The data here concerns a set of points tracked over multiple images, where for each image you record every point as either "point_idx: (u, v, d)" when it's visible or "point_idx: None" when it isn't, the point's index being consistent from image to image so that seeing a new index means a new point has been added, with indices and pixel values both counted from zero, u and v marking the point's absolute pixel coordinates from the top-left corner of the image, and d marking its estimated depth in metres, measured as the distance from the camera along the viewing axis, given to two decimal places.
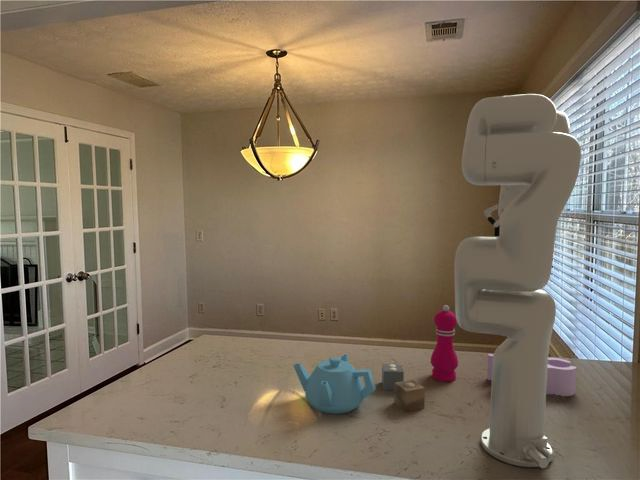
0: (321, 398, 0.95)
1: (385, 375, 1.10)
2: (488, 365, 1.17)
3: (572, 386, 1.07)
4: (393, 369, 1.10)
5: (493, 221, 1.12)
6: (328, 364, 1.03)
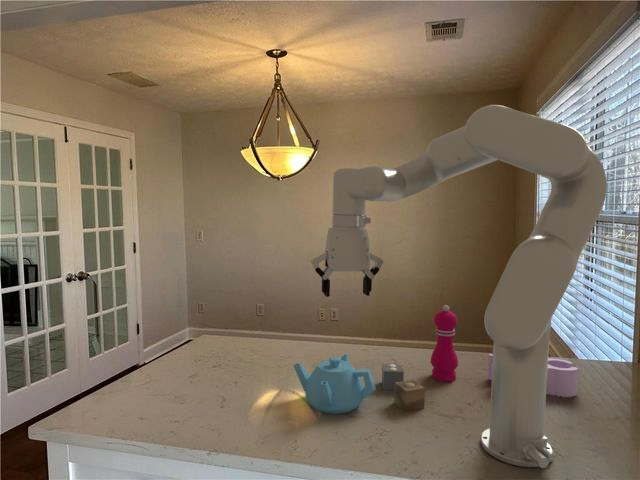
0: (321, 398, 0.95)
1: (385, 375, 1.10)
2: (489, 364, 1.17)
3: (573, 387, 1.07)
4: (393, 369, 1.10)
5: None
6: (328, 364, 1.03)
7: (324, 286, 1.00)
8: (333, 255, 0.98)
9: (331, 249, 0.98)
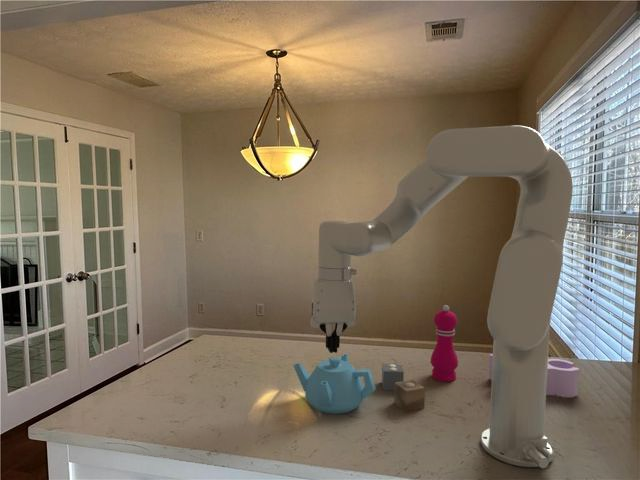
0: (321, 398, 0.95)
1: (385, 375, 1.10)
2: (490, 365, 1.17)
3: (574, 388, 1.06)
4: (393, 369, 1.10)
5: None
6: (328, 364, 1.03)
7: (328, 342, 1.01)
8: (318, 308, 0.98)
9: (317, 301, 0.98)
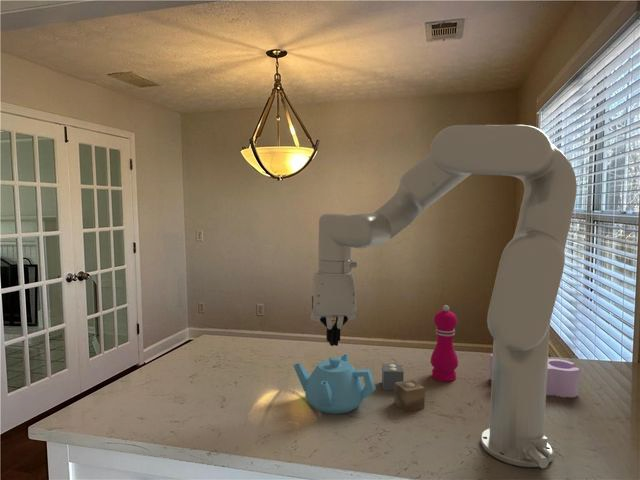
0: (321, 398, 0.95)
1: (385, 375, 1.10)
2: (490, 364, 1.17)
3: (575, 388, 1.06)
4: (393, 369, 1.10)
5: None
6: (328, 364, 1.03)
7: (329, 335, 1.01)
8: (319, 301, 0.98)
9: (317, 294, 0.98)
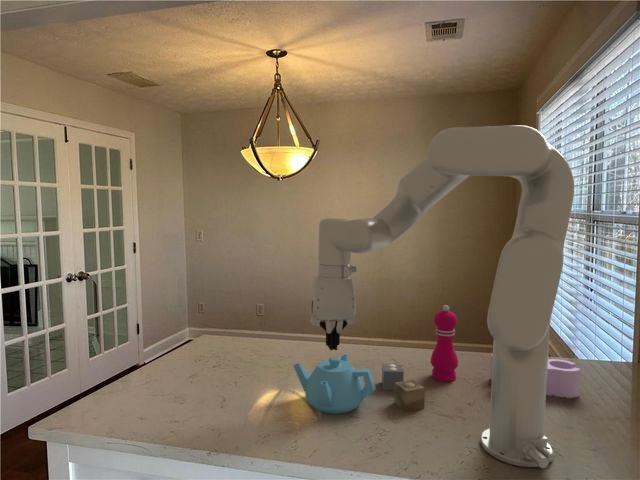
0: (321, 398, 0.95)
1: (385, 375, 1.10)
2: (491, 365, 1.17)
3: (575, 388, 1.06)
4: (393, 369, 1.10)
5: None
6: (328, 363, 1.03)
7: (328, 339, 1.01)
8: (318, 305, 0.98)
9: (317, 299, 0.98)
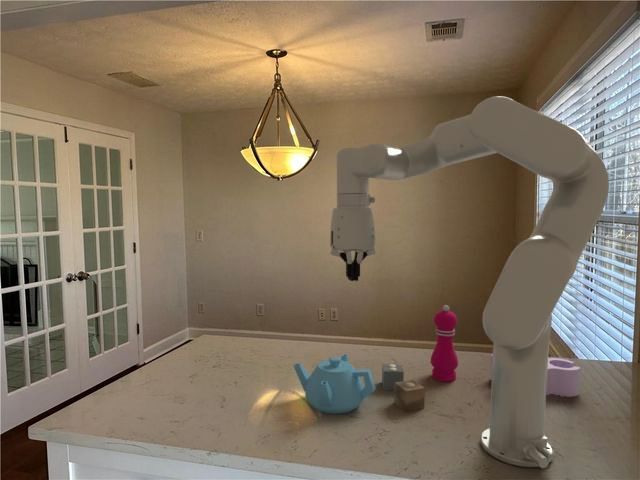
0: (321, 398, 0.95)
1: (385, 375, 1.10)
2: (491, 365, 1.16)
3: (576, 387, 1.07)
4: (393, 369, 1.10)
5: None
6: (328, 364, 1.03)
7: (349, 270, 1.01)
8: (339, 234, 0.99)
9: (337, 228, 0.99)
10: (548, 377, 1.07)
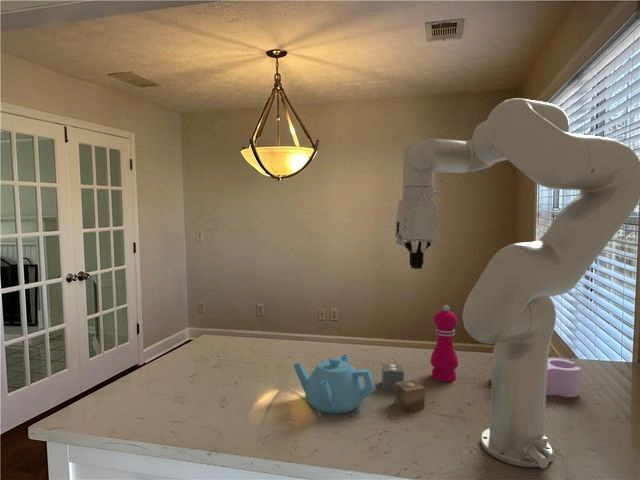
0: (321, 398, 0.95)
1: (385, 375, 1.10)
2: None
3: (576, 387, 1.07)
4: (393, 369, 1.10)
5: None
6: (328, 364, 1.03)
7: (413, 259, 1.08)
8: (405, 225, 1.05)
9: (404, 219, 1.05)
10: (548, 377, 1.07)
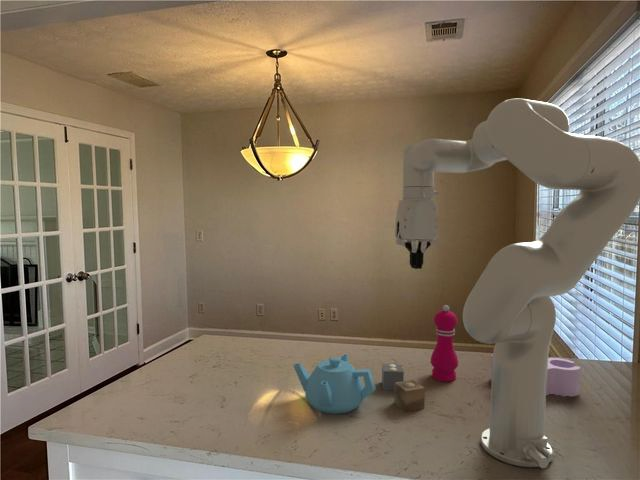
0: (321, 398, 0.95)
1: (385, 375, 1.10)
2: None
3: (576, 386, 1.07)
4: (393, 369, 1.10)
5: None
6: (328, 364, 1.03)
7: (413, 259, 1.08)
8: (405, 225, 1.05)
9: (404, 219, 1.05)
10: (549, 377, 1.07)
